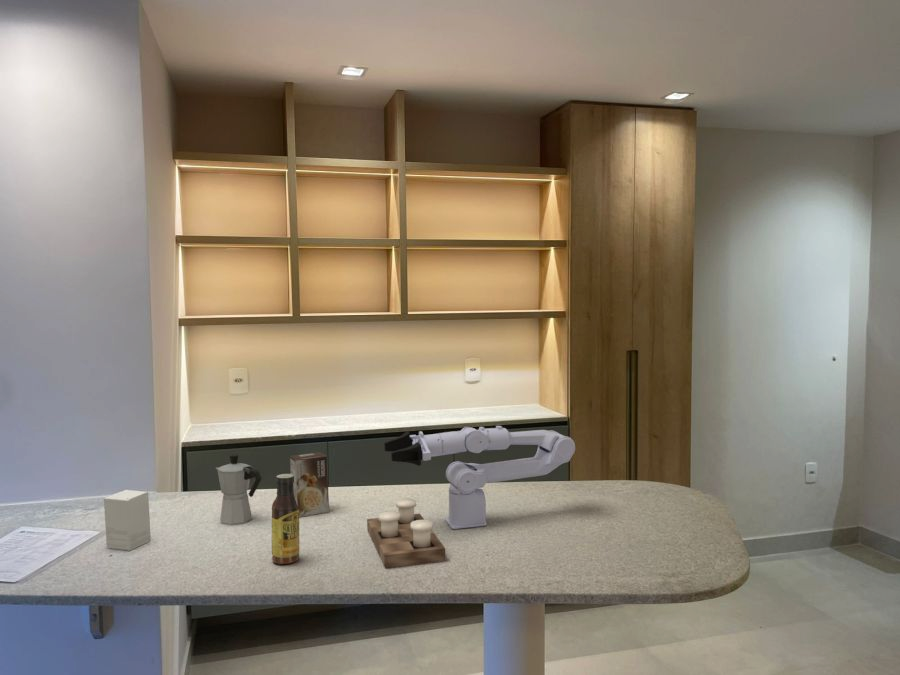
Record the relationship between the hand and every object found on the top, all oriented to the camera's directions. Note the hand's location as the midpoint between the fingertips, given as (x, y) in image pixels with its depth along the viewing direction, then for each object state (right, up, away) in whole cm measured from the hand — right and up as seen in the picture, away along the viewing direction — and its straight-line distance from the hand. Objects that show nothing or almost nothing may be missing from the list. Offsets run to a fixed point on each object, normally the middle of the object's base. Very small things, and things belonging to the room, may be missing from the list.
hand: (388, 451), depth 174 cm
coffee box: (-23, -20, +18) cm, 36 cm away
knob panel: (+5, -22, -7) cm, 23 cm away
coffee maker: (-41, -21, +12) cm, 48 cm away
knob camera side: (+9, -20, -14) cm, 26 cm away
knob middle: (+1, -19, -8) cm, 21 cm away
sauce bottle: (-22, -23, -15) cm, 35 cm away
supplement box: (-64, -22, -4) cm, 68 cm away
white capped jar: (+5, -18, +2) cm, 19 cm away
